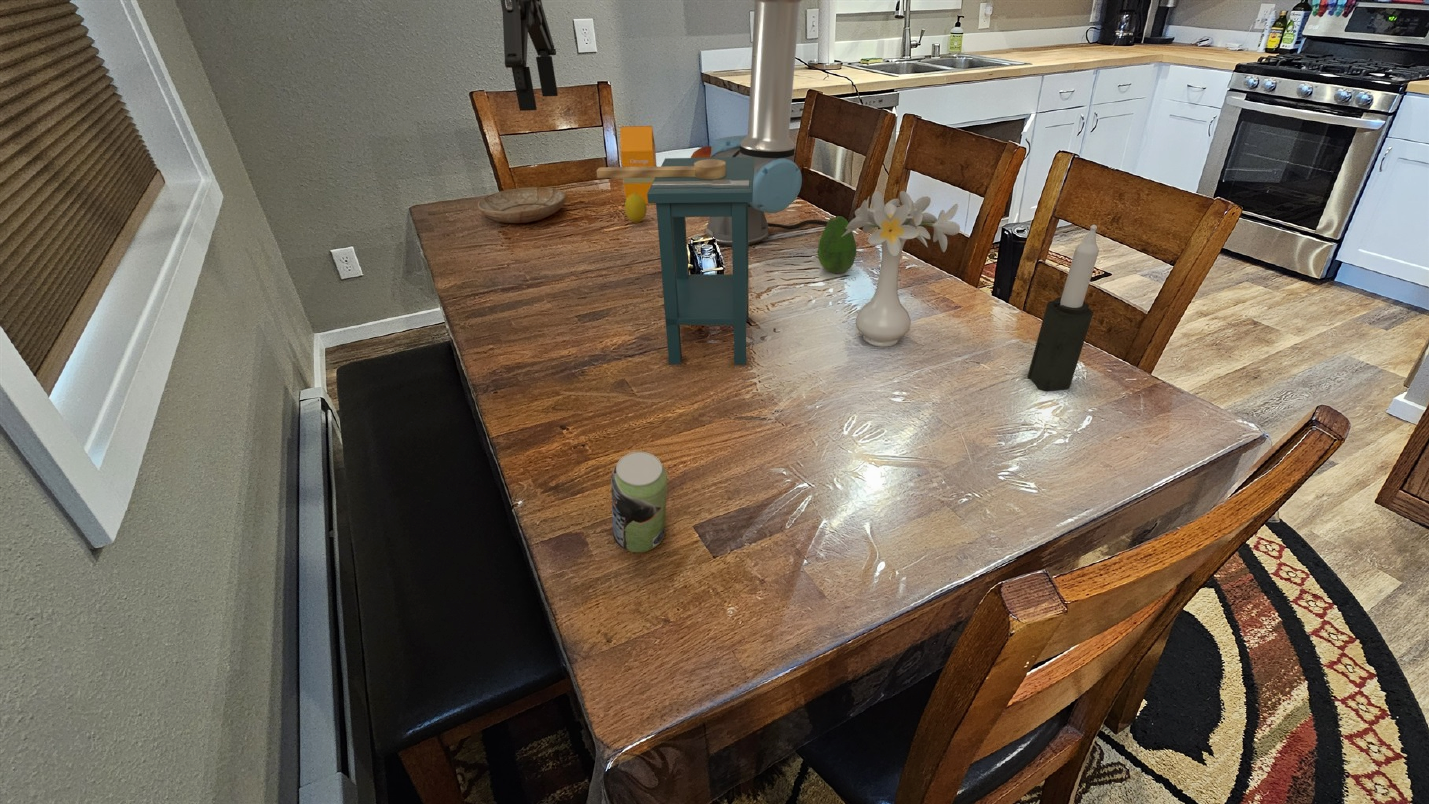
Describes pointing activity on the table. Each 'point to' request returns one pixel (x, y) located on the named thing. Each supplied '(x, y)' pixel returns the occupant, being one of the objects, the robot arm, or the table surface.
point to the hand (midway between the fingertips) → (539, 103)
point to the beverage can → (638, 501)
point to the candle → (1065, 323)
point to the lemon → (635, 208)
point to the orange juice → (637, 157)
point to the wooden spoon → (668, 171)
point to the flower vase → (894, 259)
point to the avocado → (836, 246)
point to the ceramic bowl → (522, 204)
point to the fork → (703, 184)
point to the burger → (702, 152)
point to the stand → (684, 293)
